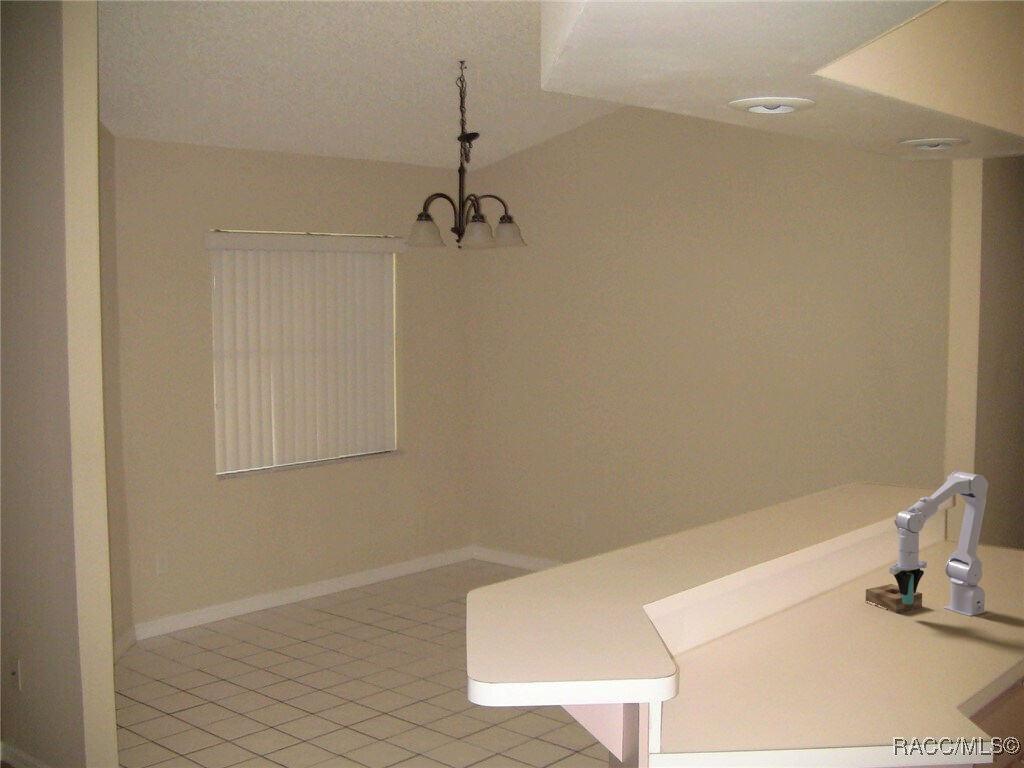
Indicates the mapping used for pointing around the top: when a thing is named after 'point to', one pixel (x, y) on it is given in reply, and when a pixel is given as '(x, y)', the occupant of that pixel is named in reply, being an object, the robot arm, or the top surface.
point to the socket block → (892, 598)
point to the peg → (909, 591)
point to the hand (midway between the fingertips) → (907, 593)
